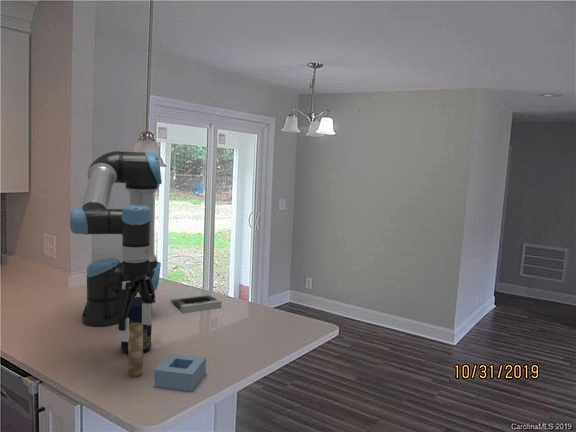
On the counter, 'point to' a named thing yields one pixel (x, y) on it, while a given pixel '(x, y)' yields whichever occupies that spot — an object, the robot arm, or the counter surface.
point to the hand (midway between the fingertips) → (135, 332)
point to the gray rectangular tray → (196, 303)
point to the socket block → (180, 372)
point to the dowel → (135, 350)
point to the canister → (136, 317)
